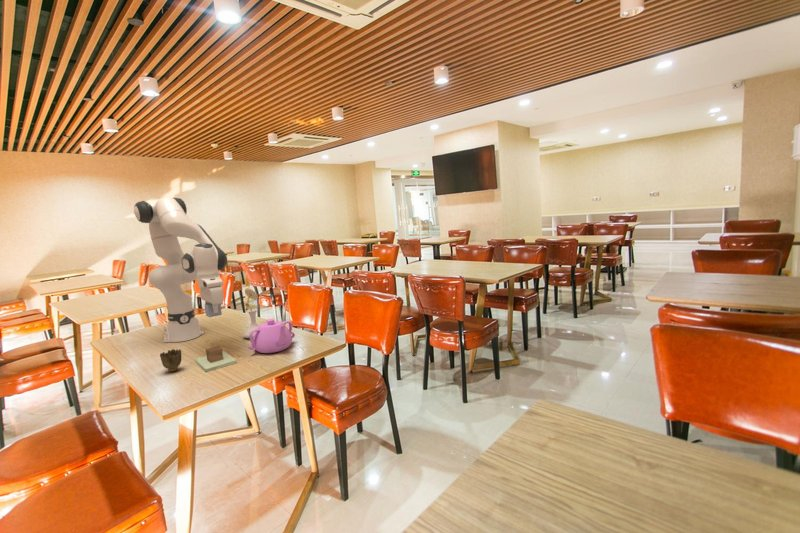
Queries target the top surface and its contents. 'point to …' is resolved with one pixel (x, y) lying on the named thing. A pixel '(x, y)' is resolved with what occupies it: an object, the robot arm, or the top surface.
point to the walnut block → (214, 354)
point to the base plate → (215, 365)
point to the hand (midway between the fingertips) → (213, 311)
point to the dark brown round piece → (171, 359)
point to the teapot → (271, 337)
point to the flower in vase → (251, 313)
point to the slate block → (210, 310)
